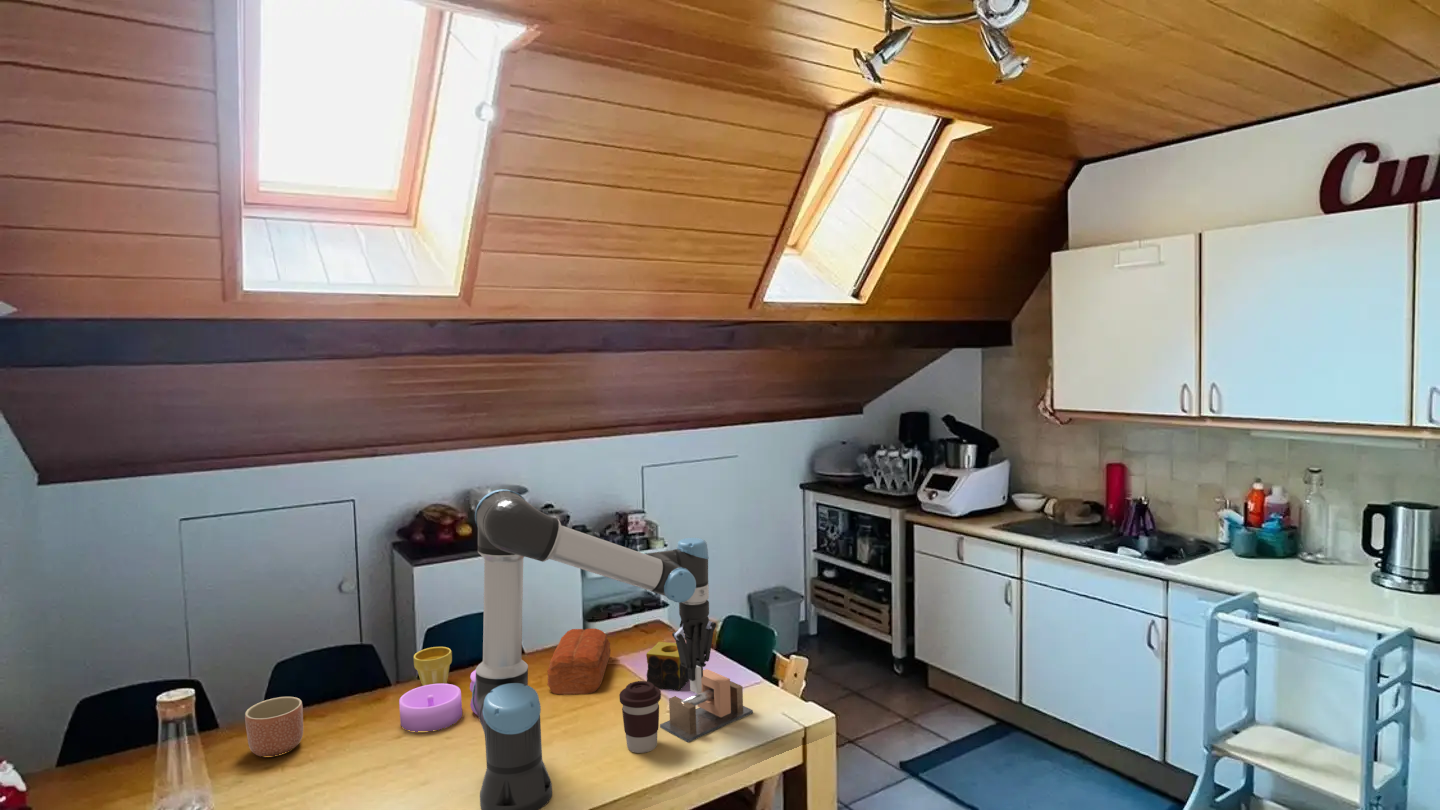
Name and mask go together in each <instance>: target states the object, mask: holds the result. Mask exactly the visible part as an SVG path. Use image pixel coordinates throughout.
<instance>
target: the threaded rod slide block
mask: <svg viewBox="0 0 1440 810" xmlns="http://www.w3.org/2000/svg"><path fill="white" fill-rule="evenodd" d="M743 694H744V693H743V685H740V684H738V683H735V682H733V681H731V680H730V701H731V713H730V714H727V715H725V716H723V717H719V716H717V715H715V714H713V713H711V712H709V711H706V710H704V709H702V708H700V707H698V708H697V707H696V706H698V704H701V703H703V702H705V701H708V700H710V699H714V689H712V688H709V690H706V691H704V692H701V693H699V694H697V693H695V694H694V695H692V696H689V697H686V698H684V699H682V698H680V697H679V696H675V695H674V696H672V697H670V698H668V705H669V706H668V707H669V711H668V712H669V720H667V721H664V722H663V723H660V724H659V729H663V730H664V731H665V732H668V733H670V734H671V735H673V736H675V737H677V738H679V739H680V740H682V741H684V742H686V743H690V742H693V741H695V740H696V739H699V738H701V737H703V736H705V735H708V734H710V733H712V732H714V731H717V730H719V729H721V728H723V727H725V726H727V725H730V724H731V723H734V722H736V721H738V720H741V719H743V718H745V717H747V716H749V715H752V714H753V713H754V710H753V709H751V708H749V707H747V706H745V705H744V696H743Z"/></svg>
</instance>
